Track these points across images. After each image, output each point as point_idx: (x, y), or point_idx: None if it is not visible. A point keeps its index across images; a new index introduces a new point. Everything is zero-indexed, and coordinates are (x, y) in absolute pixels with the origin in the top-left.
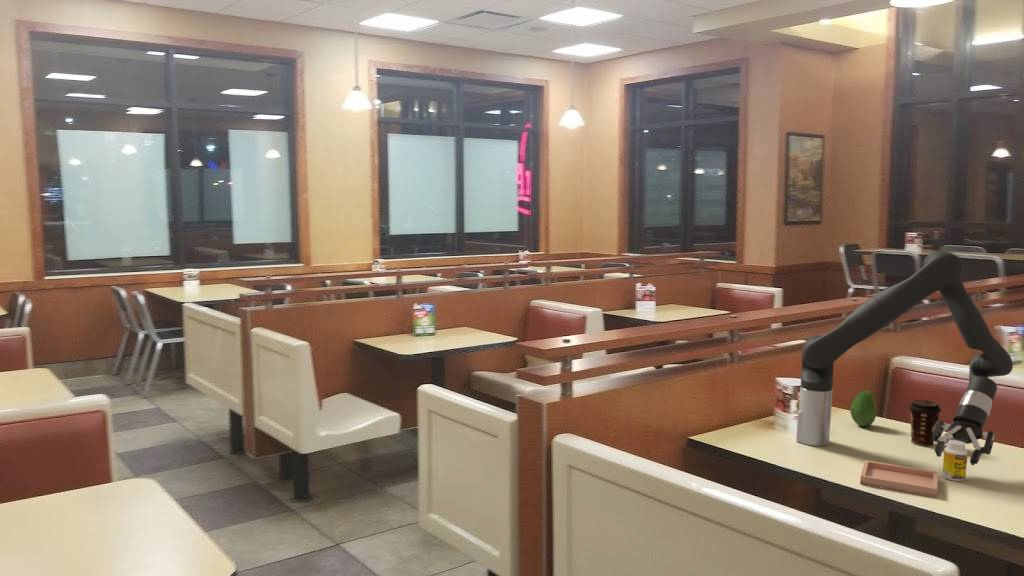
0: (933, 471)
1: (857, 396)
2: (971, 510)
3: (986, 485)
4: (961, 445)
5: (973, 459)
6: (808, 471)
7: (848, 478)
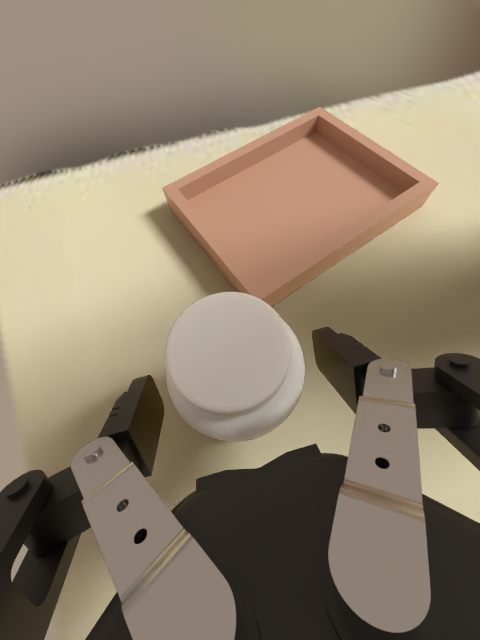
0: (266, 292)
1: None
2: (81, 218)
3: None
4: (173, 327)
5: (131, 386)
6: (424, 96)
7: None
